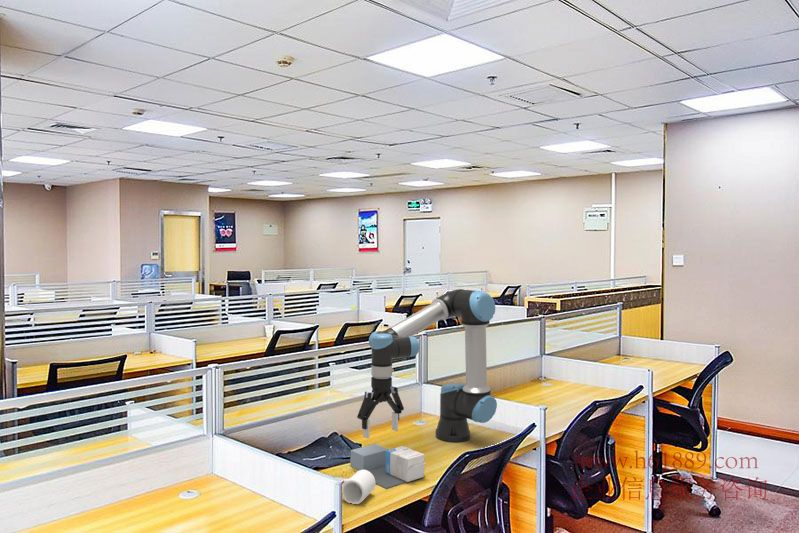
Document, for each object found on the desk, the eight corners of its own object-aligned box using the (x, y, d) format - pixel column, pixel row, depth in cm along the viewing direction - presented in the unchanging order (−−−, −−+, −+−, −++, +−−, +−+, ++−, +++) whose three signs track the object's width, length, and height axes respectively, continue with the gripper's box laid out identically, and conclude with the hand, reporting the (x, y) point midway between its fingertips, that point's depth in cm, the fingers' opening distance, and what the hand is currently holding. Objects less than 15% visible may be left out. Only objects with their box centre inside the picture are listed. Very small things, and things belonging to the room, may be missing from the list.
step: (375, 459, 240) (375, 443, 240) (388, 465, 234) (389, 449, 234) (350, 466, 232) (350, 450, 232) (363, 472, 226) (363, 456, 226)
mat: (395, 463, 236) (395, 462, 236) (424, 476, 224) (424, 475, 224) (357, 474, 224) (357, 473, 224) (386, 489, 212) (386, 487, 212)
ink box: (384, 472, 225) (410, 484, 215) (385, 450, 225) (410, 460, 215) (402, 467, 231) (427, 478, 221) (402, 445, 231) (428, 455, 221)
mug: (375, 494, 207) (376, 471, 207) (364, 506, 198) (364, 482, 197) (342, 489, 211) (342, 466, 211) (329, 500, 202) (330, 476, 201)
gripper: (400, 370, 238) (399, 424, 239) (347, 379, 222) (347, 438, 223) (413, 373, 233) (412, 429, 234) (360, 383, 216) (360, 443, 217)
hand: (380, 433), depth 228 cm, fingers open, 13 cm apart
